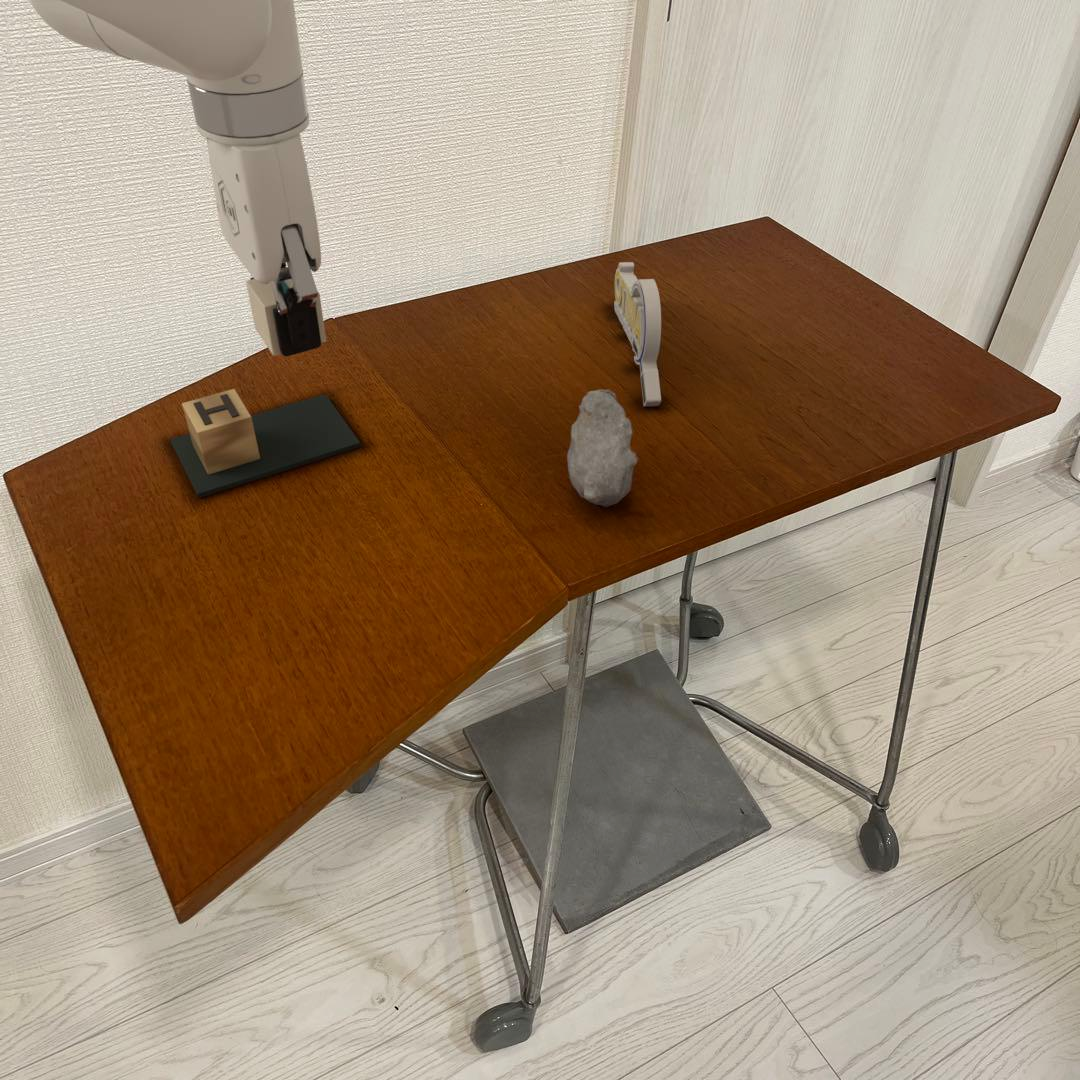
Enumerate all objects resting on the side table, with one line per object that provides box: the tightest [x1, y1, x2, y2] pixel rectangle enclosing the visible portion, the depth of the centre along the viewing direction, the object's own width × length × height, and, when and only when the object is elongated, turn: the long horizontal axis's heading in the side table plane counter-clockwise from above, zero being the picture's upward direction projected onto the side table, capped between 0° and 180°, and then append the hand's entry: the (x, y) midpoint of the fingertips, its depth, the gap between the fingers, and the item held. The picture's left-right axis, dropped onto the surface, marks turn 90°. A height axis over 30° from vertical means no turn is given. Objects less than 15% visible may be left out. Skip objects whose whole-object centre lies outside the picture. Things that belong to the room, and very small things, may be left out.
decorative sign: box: [613, 261, 662, 407], centre depth 96 cm, size 18×1×10 cm, turn 6°
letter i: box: [245, 279, 327, 357], centre depth 79 cm, size 4×4×4 cm
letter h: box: [181, 388, 260, 475], centre depth 83 cm, size 4×4×4 cm
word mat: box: [169, 393, 361, 499], centre depth 86 cm, size 14×8×1 cm, turn 120°
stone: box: [566, 389, 639, 508], centre depth 80 cm, size 9×7×10 cm
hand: (289, 332), depth 81 cm, fingers closed on letter i, 4 cm apart
